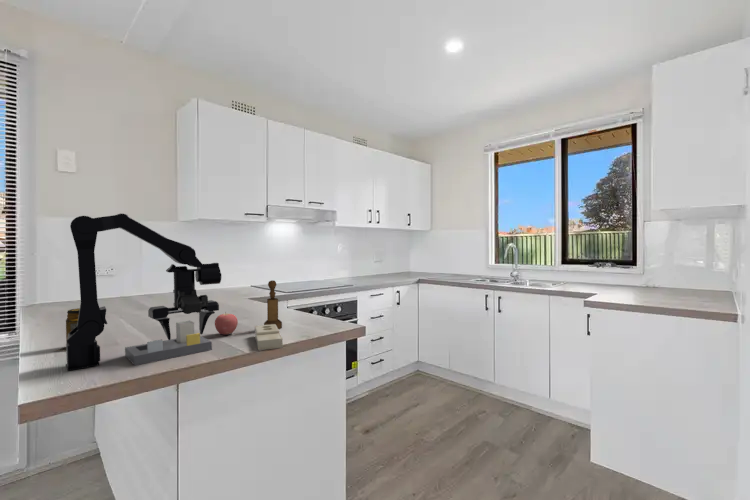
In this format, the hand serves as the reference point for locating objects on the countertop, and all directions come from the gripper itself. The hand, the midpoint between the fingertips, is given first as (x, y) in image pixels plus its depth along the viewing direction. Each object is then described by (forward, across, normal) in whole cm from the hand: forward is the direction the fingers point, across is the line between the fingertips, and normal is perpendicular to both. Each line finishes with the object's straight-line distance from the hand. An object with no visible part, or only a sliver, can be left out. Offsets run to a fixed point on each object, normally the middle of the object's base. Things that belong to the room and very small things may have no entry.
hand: (185, 336), depth 115 cm
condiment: (+4, -24, +26) cm, 36 cm away
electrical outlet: (+4, +22, -11) cm, 25 cm away
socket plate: (+4, -5, -2) cm, 6 cm away
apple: (+4, +16, +8) cm, 19 cm away
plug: (+4, 0, 0) cm, 4 cm away
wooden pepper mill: (+4, +32, +4) cm, 33 cm away
